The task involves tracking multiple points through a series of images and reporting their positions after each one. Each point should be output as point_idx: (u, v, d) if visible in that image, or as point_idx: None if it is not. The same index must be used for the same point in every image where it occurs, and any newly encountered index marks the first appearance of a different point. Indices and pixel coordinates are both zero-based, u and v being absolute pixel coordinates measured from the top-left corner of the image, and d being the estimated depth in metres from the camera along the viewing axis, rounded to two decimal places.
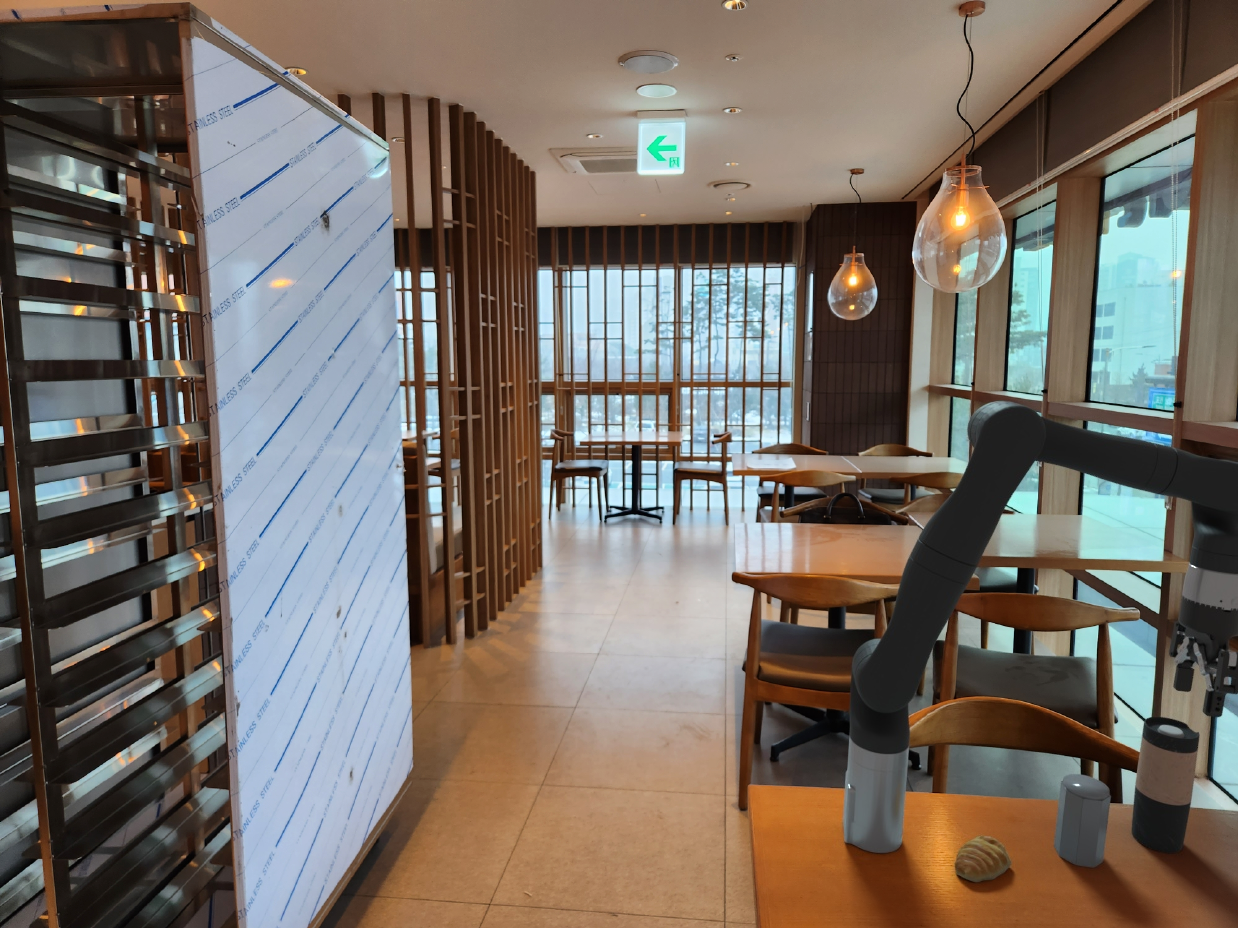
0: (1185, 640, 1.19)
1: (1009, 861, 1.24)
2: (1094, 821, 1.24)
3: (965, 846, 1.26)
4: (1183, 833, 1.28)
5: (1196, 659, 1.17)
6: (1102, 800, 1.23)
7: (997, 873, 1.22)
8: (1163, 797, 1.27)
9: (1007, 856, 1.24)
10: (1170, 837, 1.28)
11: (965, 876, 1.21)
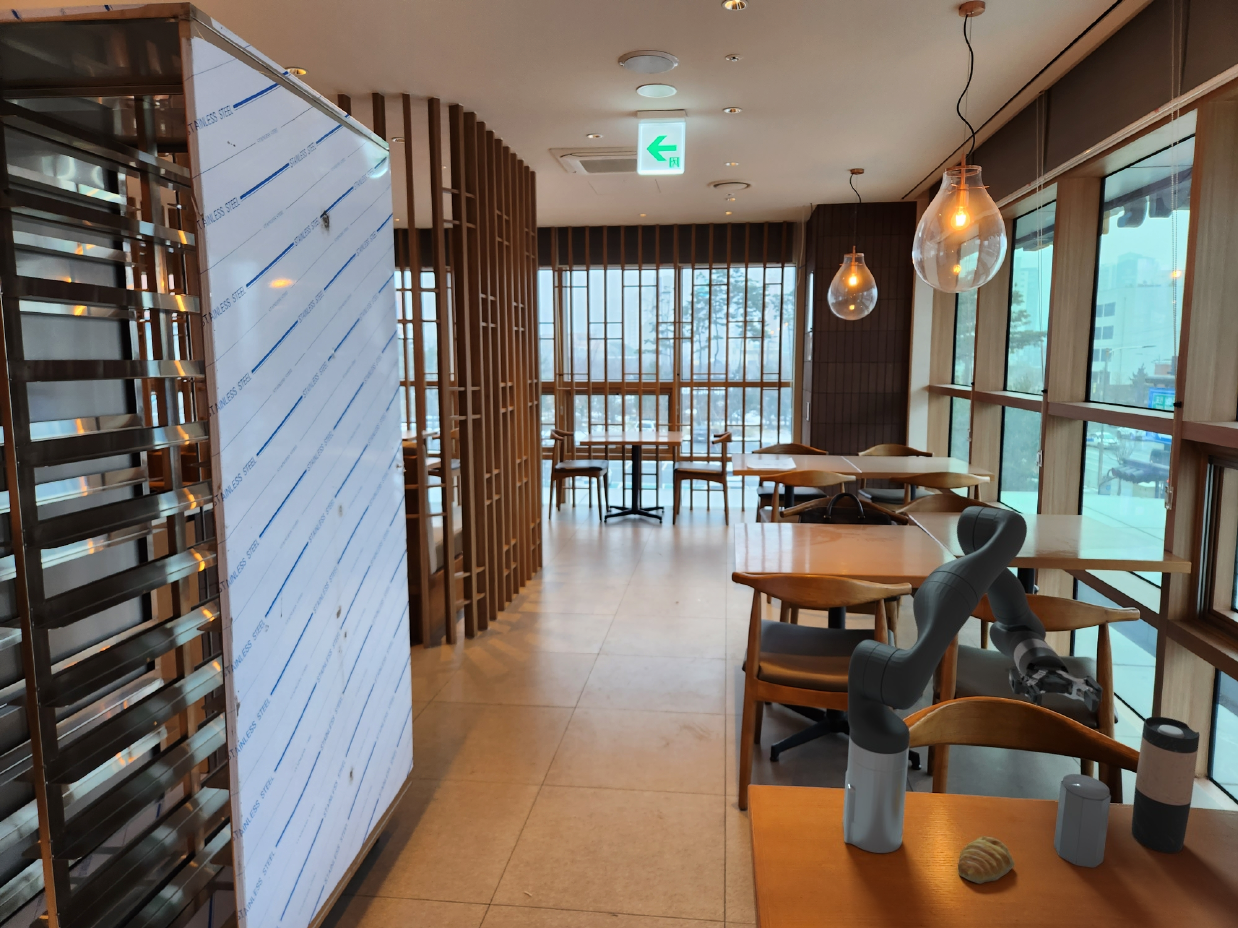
0: (1042, 670, 1.45)
1: (1012, 862, 1.24)
2: (1094, 821, 1.24)
3: (968, 847, 1.26)
4: (1183, 833, 1.28)
5: (1057, 680, 1.43)
6: (1102, 800, 1.23)
7: (1000, 874, 1.22)
8: (1163, 797, 1.27)
9: (1010, 857, 1.24)
10: (1170, 837, 1.28)
11: (969, 877, 1.21)
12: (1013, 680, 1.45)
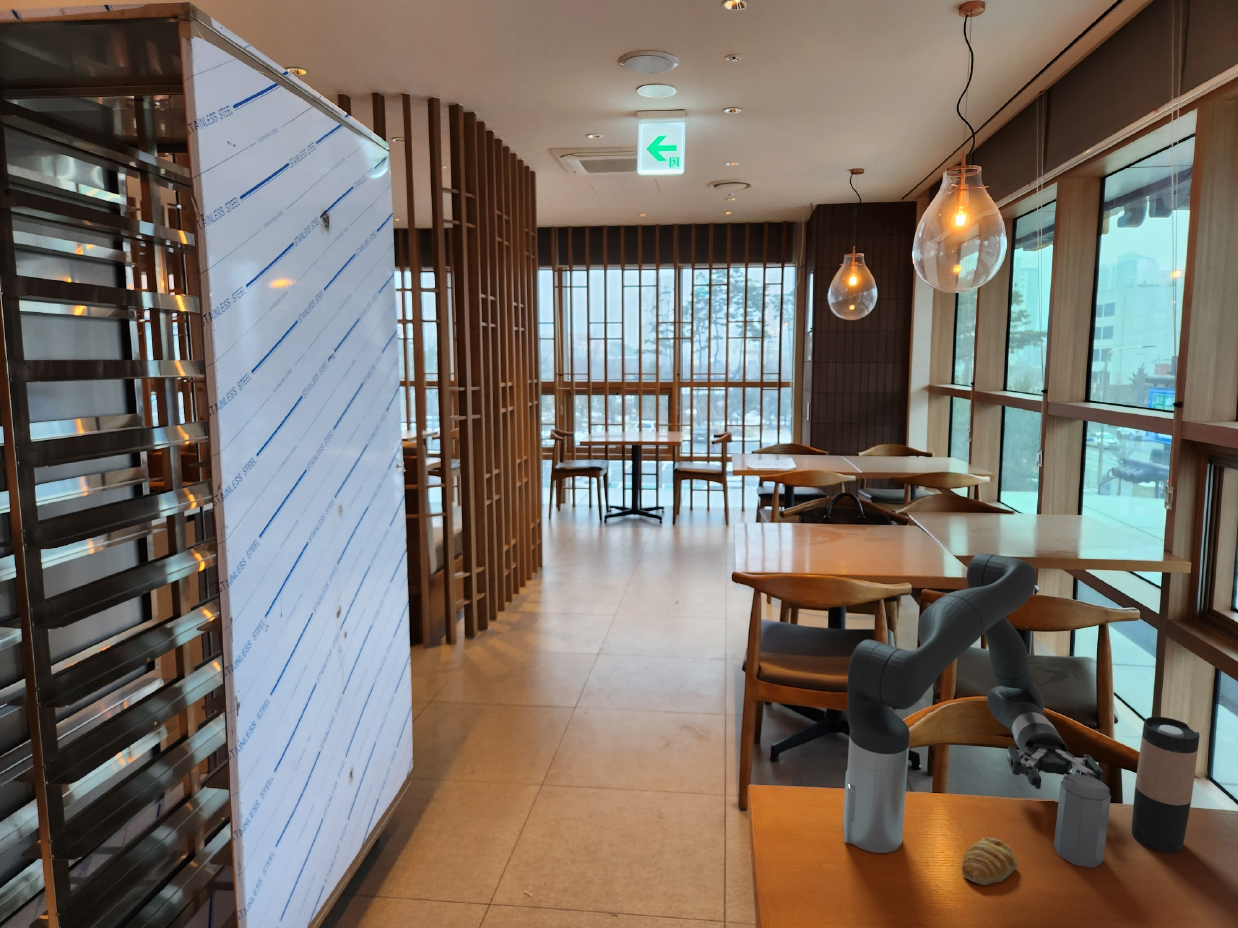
0: (1041, 749, 1.43)
1: (1015, 862, 1.24)
2: (1094, 821, 1.24)
3: (971, 849, 1.25)
4: (1183, 833, 1.28)
5: (1056, 761, 1.41)
6: (1102, 800, 1.23)
7: (1005, 875, 1.21)
8: (1163, 797, 1.27)
9: (1013, 858, 1.24)
10: (1170, 837, 1.28)
11: (973, 879, 1.21)
12: (1012, 759, 1.43)
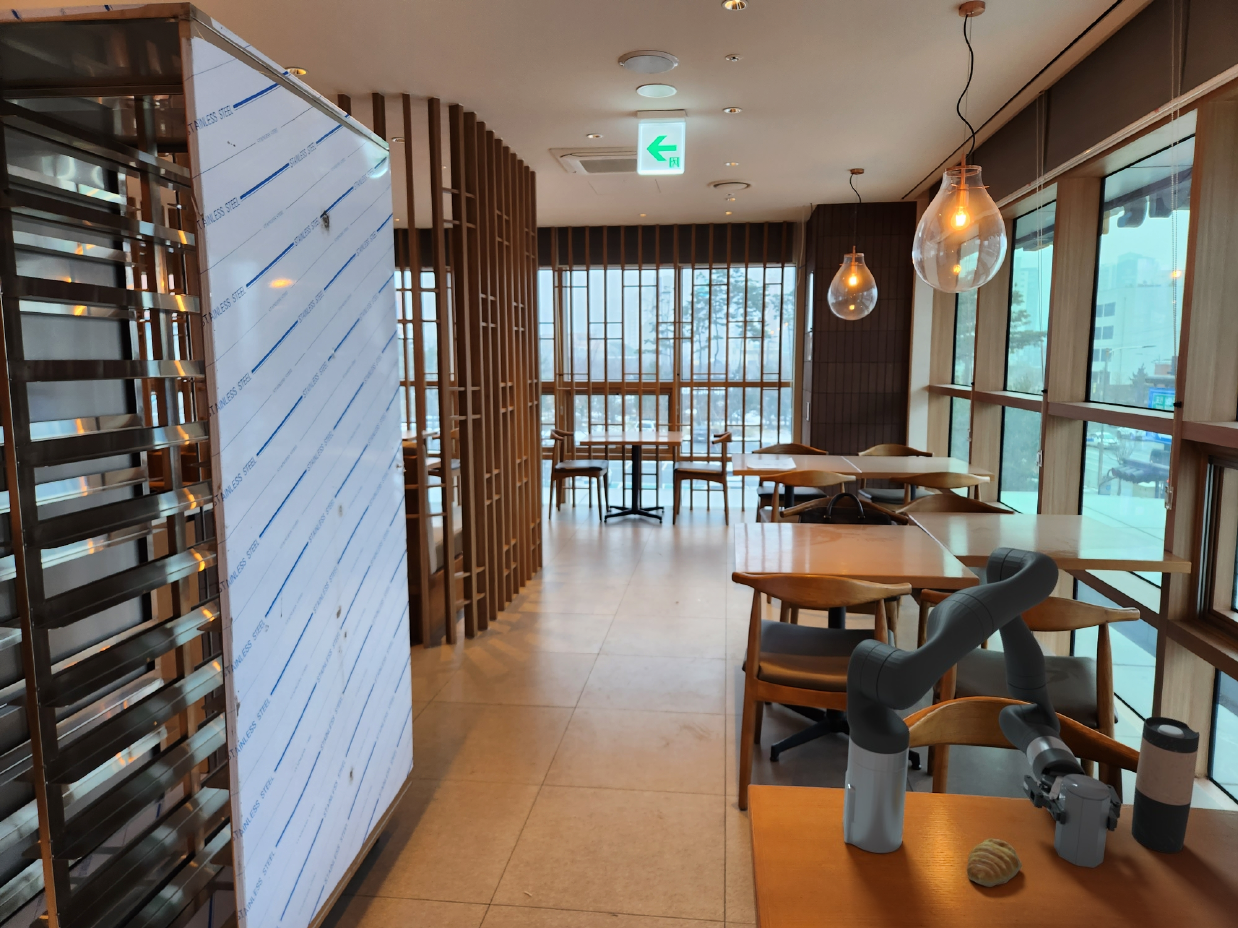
0: (1059, 777, 1.34)
1: (1020, 863, 1.24)
2: (1094, 821, 1.24)
3: (976, 850, 1.25)
4: (1183, 833, 1.28)
5: None
6: (1102, 800, 1.23)
7: (1010, 876, 1.21)
8: (1163, 797, 1.27)
9: (1017, 858, 1.24)
10: (1170, 837, 1.28)
11: (979, 881, 1.20)
12: (1031, 791, 1.33)
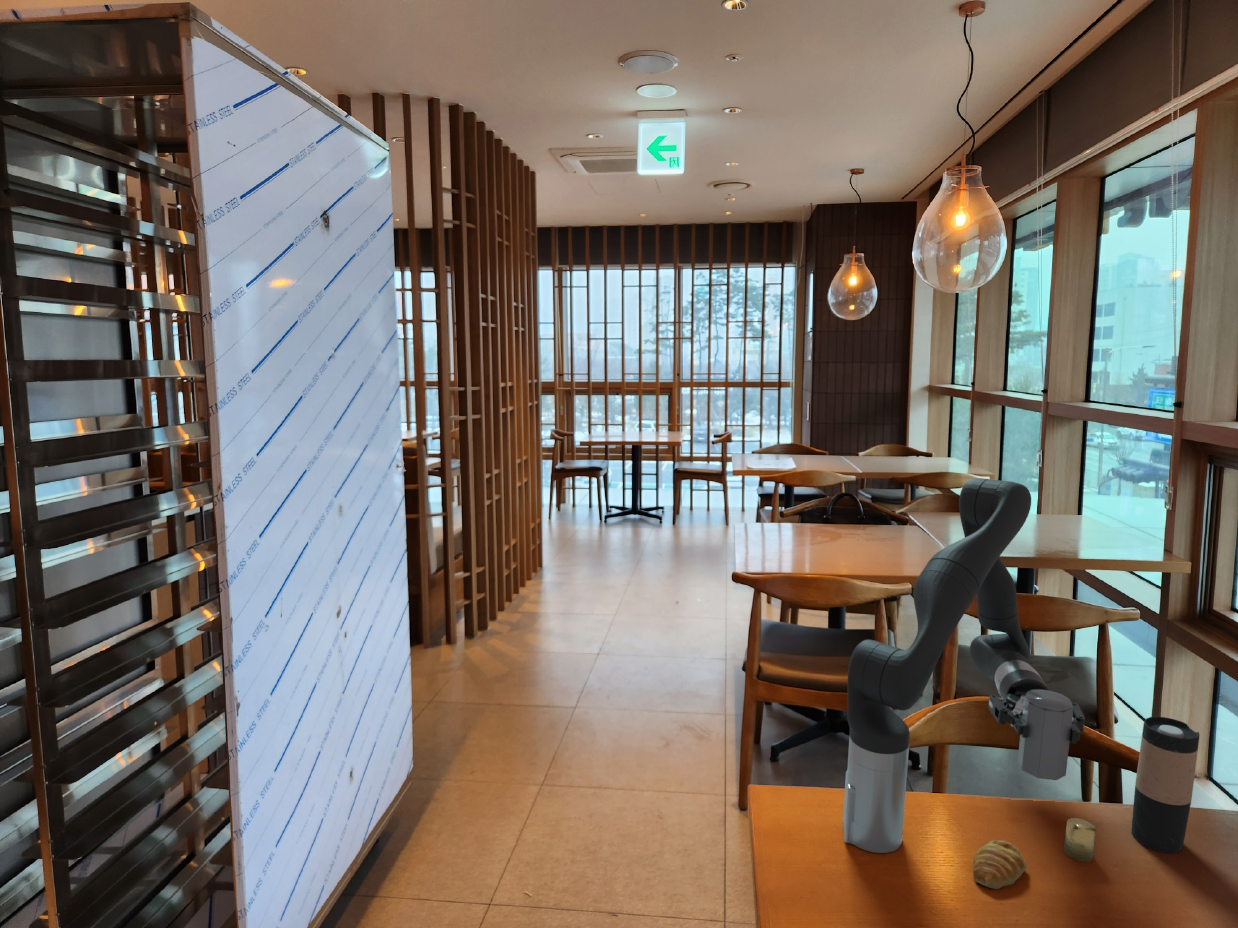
0: (1024, 695, 1.33)
1: (1025, 864, 1.23)
2: (1056, 733, 1.23)
3: (981, 852, 1.24)
4: (1183, 833, 1.28)
5: None
6: (1064, 711, 1.23)
7: (1016, 878, 1.21)
8: (1163, 797, 1.27)
9: (1022, 859, 1.24)
10: (1170, 837, 1.28)
11: (986, 883, 1.20)
12: (996, 708, 1.32)
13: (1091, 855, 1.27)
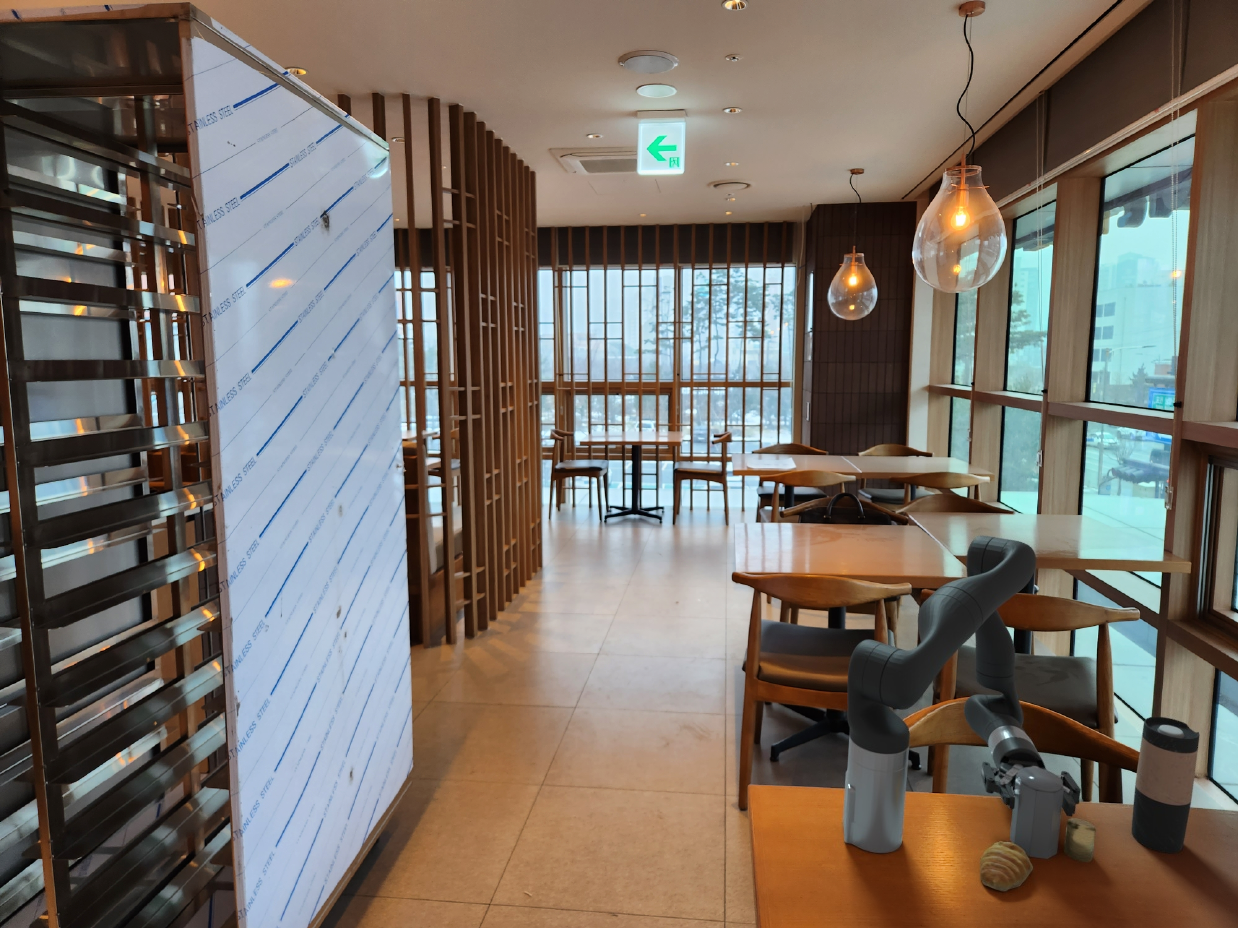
0: (1017, 765, 1.36)
1: (1031, 866, 1.23)
2: (1048, 813, 1.26)
3: (987, 854, 1.24)
4: (1183, 833, 1.28)
5: None
6: (1055, 792, 1.25)
7: (1023, 880, 1.20)
8: (1163, 797, 1.27)
9: (1029, 861, 1.23)
10: (1170, 837, 1.28)
11: (994, 886, 1.19)
12: (985, 776, 1.35)
13: (1091, 855, 1.27)
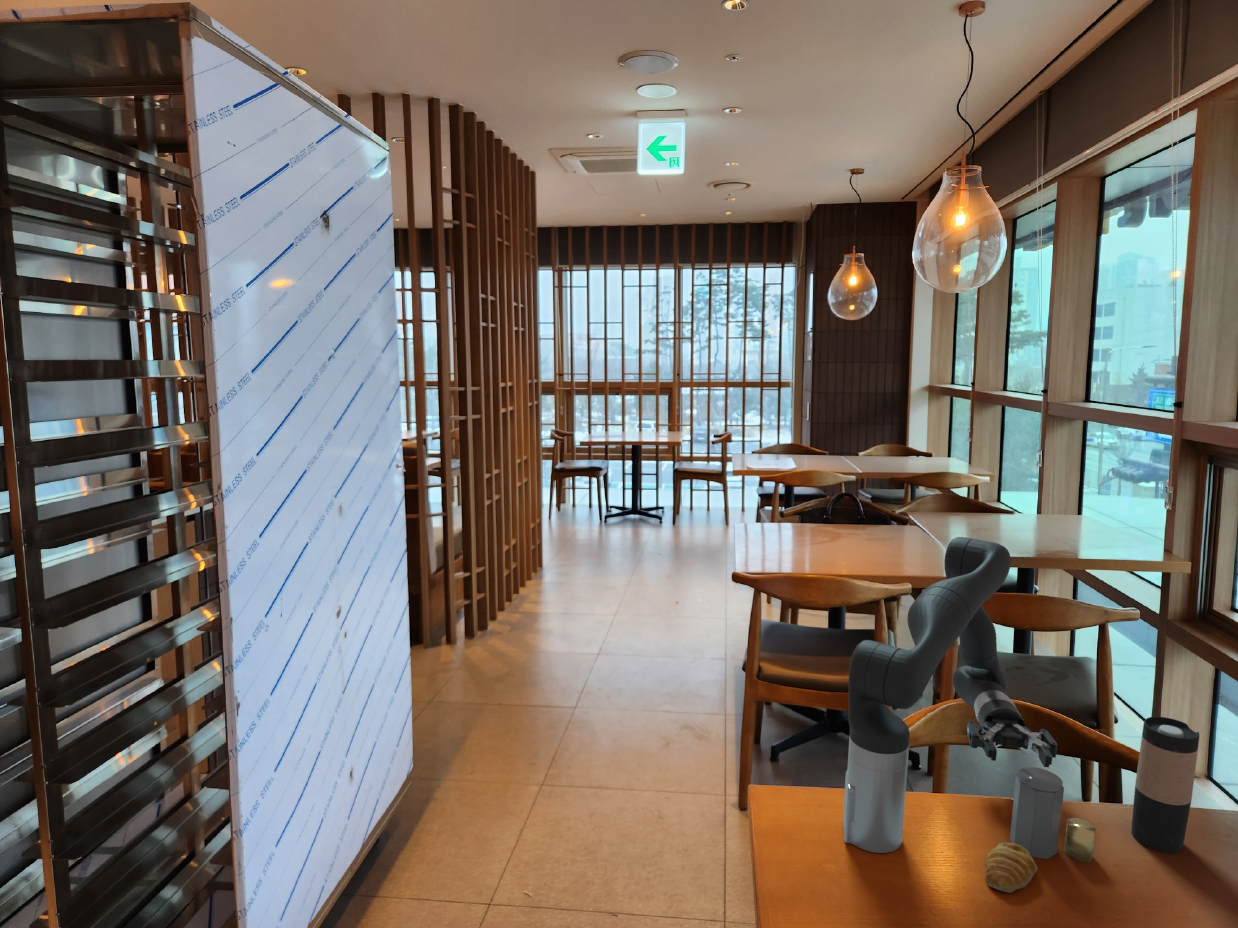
0: (999, 723, 1.47)
1: (1035, 866, 1.23)
2: (1048, 813, 1.26)
3: (992, 856, 1.24)
4: (1183, 833, 1.28)
5: (1013, 734, 1.45)
6: (1055, 792, 1.25)
7: (1028, 881, 1.20)
8: (1163, 797, 1.27)
9: (1033, 861, 1.23)
10: (1170, 837, 1.28)
11: (1000, 888, 1.19)
12: (970, 733, 1.47)
13: (1091, 855, 1.27)
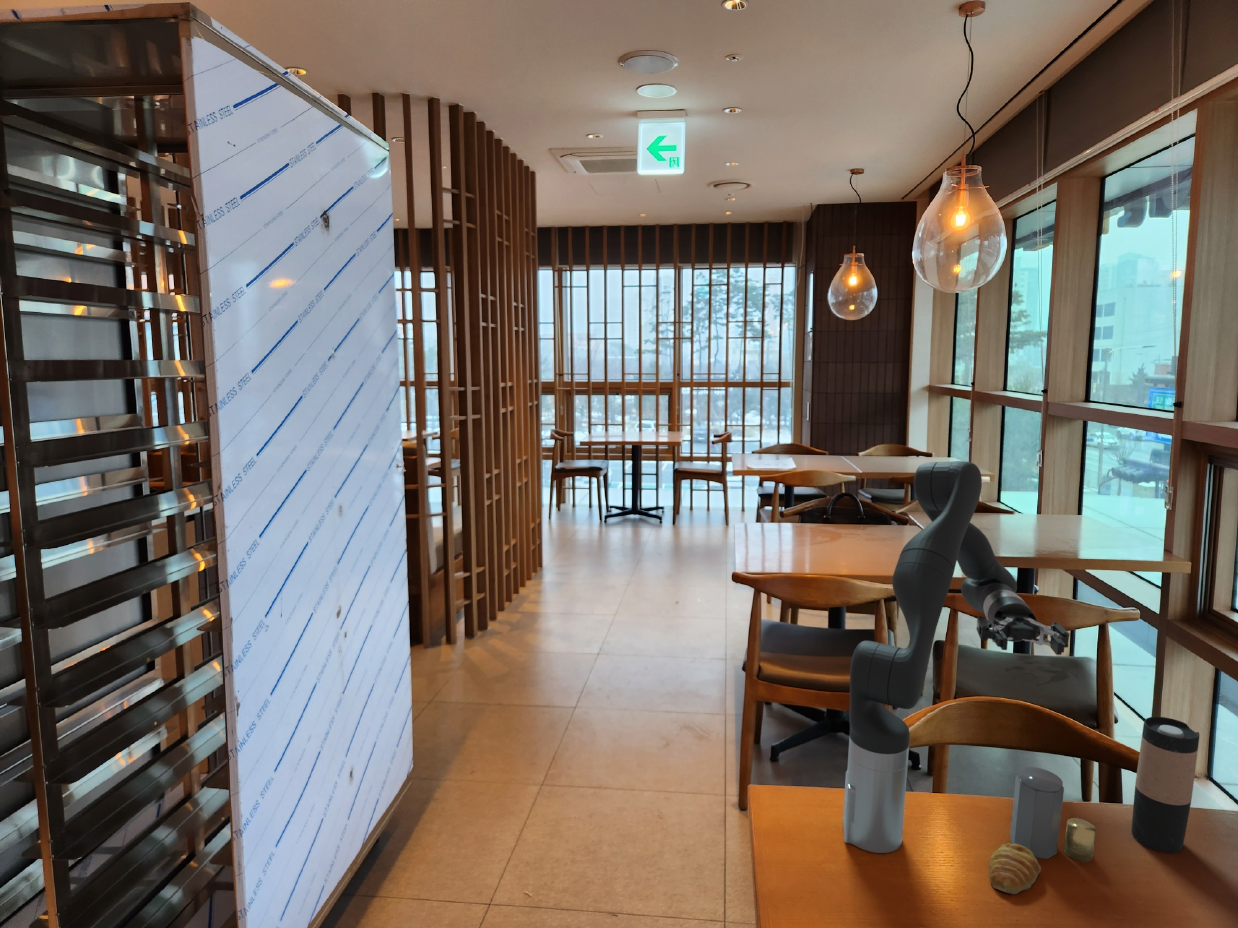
0: (1010, 617, 1.44)
1: (1039, 867, 1.23)
2: (1048, 813, 1.26)
3: (996, 857, 1.23)
4: (1183, 833, 1.28)
5: (1024, 626, 1.42)
6: (1055, 792, 1.25)
7: (1033, 882, 1.20)
8: (1163, 797, 1.27)
9: (1037, 862, 1.23)
10: (1170, 837, 1.28)
11: (1005, 889, 1.19)
12: (980, 627, 1.44)
13: (1091, 855, 1.27)
